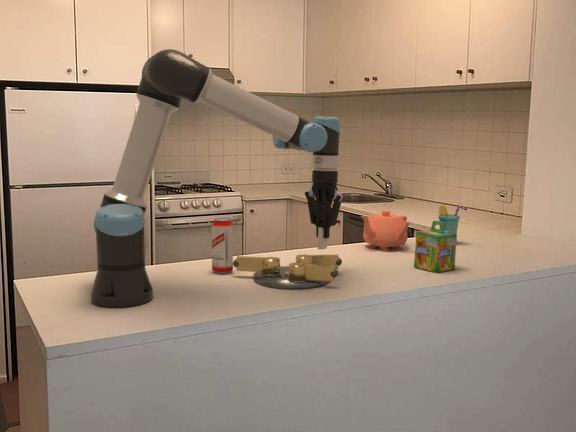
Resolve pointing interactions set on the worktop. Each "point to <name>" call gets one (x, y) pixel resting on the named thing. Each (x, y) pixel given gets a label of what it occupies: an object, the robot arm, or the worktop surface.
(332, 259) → the knob
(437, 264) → the chalk box
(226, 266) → the beer can
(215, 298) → the worktop surface
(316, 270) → the knob
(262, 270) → the knob
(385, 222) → the teapot
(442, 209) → the cup
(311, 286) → the levelling base
